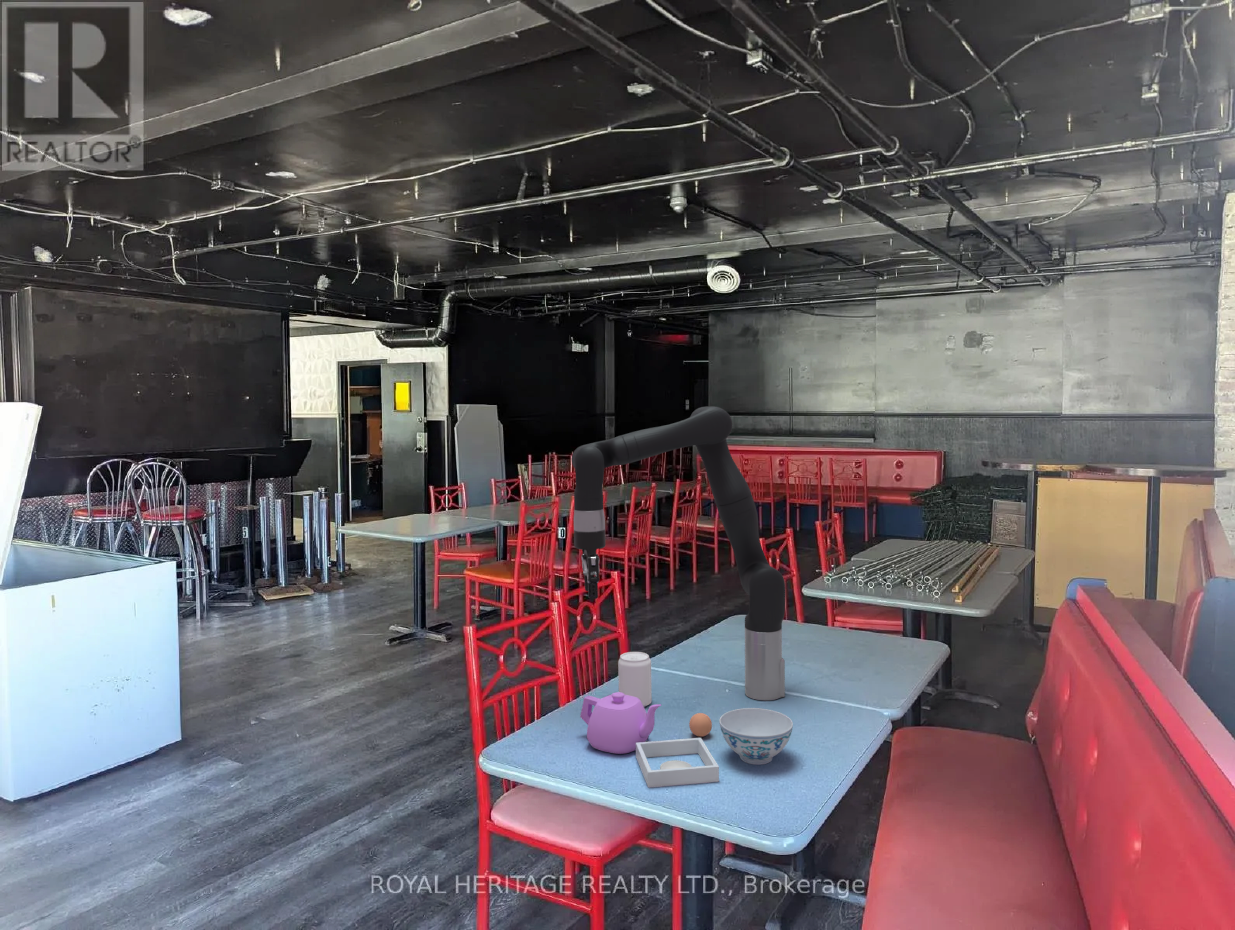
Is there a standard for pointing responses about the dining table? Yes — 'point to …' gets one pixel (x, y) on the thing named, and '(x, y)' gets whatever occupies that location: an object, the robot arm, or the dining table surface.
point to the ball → (700, 724)
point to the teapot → (617, 722)
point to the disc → (674, 764)
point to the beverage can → (635, 676)
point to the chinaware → (756, 733)
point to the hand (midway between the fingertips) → (591, 594)
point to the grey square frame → (677, 774)
